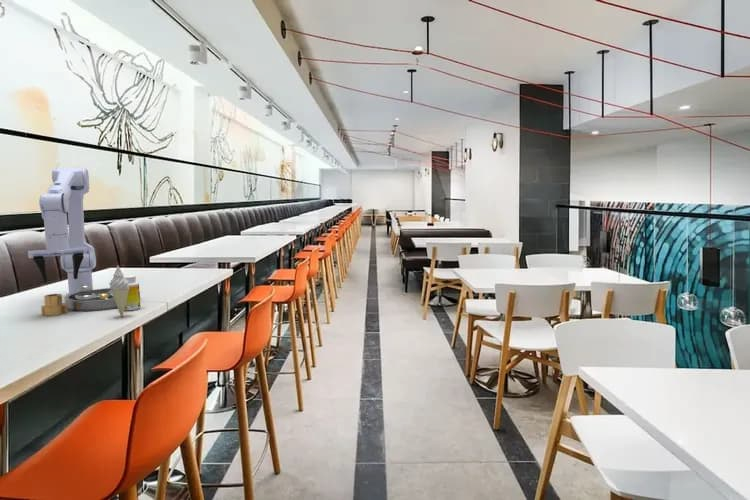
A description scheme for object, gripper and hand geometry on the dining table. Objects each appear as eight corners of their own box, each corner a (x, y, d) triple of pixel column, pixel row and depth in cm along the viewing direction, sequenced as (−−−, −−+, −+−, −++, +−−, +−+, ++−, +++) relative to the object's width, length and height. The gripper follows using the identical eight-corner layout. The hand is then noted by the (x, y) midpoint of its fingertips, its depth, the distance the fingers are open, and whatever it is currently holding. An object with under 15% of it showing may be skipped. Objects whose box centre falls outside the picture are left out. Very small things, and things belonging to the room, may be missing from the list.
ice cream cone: (116, 314, 146) (112, 263, 144) (134, 313, 146) (130, 263, 144) (108, 318, 141) (105, 266, 139) (127, 318, 141) (123, 265, 139)
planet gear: (41, 313, 148) (39, 295, 147) (65, 309, 151) (63, 292, 151) (42, 317, 143) (41, 298, 142) (67, 313, 146) (66, 295, 146)
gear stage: (62, 302, 162) (60, 283, 161) (131, 294, 174) (130, 276, 174) (70, 314, 145) (68, 293, 144) (146, 304, 158) (145, 284, 157)
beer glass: (142, 309, 152) (140, 276, 150) (122, 312, 148) (120, 278, 147) (137, 306, 156) (135, 274, 155) (118, 308, 152) (116, 276, 151)
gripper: (27, 236, 137) (32, 285, 139) (87, 233, 146) (90, 279, 148) (25, 235, 143) (30, 281, 144) (83, 232, 152) (86, 276, 153)
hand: (60, 280), depth 146 cm, fingers open, 7 cm apart
